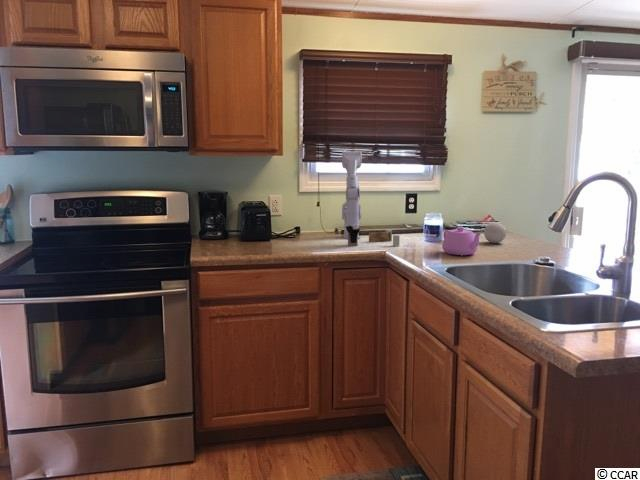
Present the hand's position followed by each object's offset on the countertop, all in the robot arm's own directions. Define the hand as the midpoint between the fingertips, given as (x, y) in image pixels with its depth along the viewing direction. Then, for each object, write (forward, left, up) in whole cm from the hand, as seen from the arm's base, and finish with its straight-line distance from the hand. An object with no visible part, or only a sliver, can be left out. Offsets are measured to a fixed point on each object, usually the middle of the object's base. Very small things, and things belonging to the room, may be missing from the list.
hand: (352, 242), depth 241 cm
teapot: (+27, +43, -2) cm, 51 cm away
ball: (+5, +68, -2) cm, 68 cm away
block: (0, 0, -2) cm, 2 cm away
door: (-8, +15, -2) cm, 17 cm away
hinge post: (-10, +20, -2) cm, 22 cm away
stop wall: (+4, +20, -2) cm, 20 cm away
